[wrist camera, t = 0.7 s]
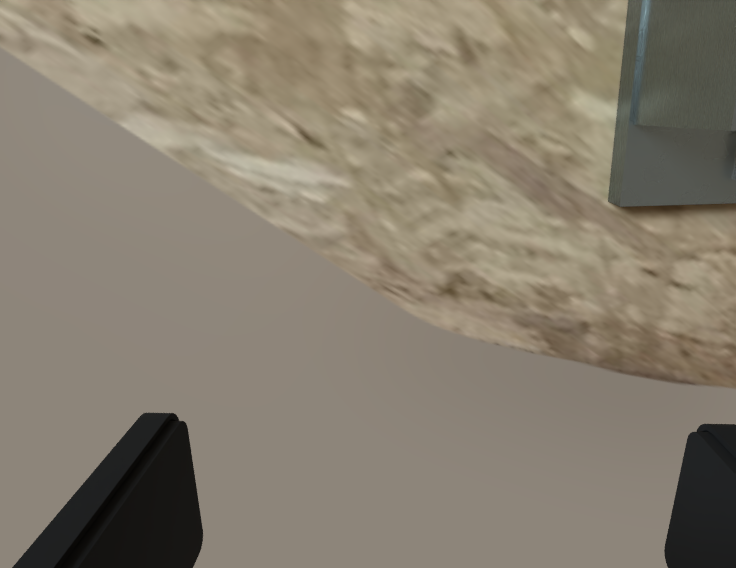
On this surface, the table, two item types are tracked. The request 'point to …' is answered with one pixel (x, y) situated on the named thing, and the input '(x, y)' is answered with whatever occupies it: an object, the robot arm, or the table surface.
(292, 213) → the table surface
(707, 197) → the scale
